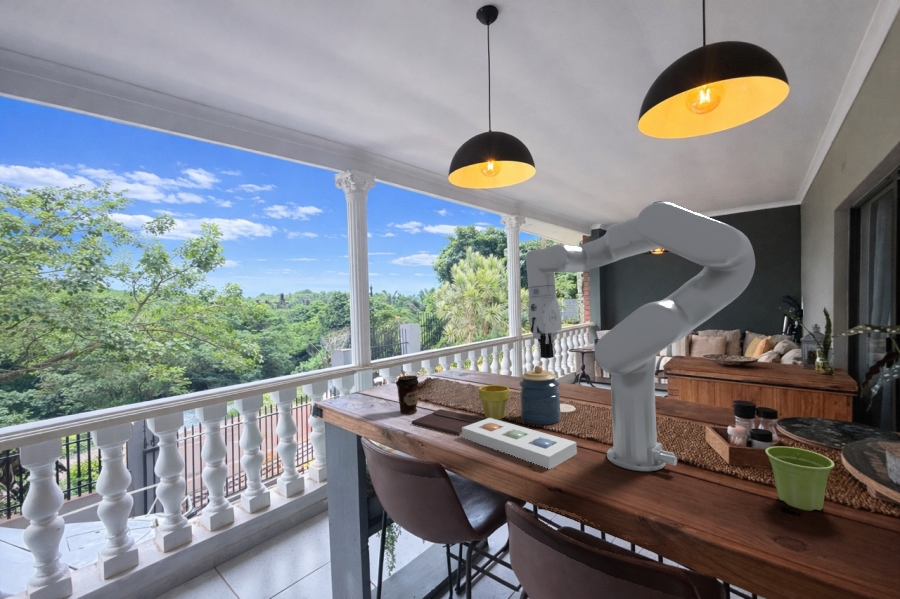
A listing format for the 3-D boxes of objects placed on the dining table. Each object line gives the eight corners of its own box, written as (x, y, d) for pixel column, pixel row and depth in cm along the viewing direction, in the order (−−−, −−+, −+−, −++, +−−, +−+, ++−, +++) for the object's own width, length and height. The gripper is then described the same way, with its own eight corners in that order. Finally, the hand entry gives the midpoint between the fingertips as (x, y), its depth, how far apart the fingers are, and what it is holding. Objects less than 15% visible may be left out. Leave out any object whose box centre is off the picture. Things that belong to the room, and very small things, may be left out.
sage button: (527, 444, 102) (527, 433, 102) (516, 449, 99) (516, 437, 99) (514, 439, 106) (513, 429, 106) (503, 444, 103) (502, 433, 103)
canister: (513, 416, 127) (510, 365, 127) (543, 410, 132) (541, 360, 132) (537, 428, 115) (534, 370, 115) (569, 420, 121) (567, 366, 121)
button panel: (576, 453, 95) (576, 442, 95) (549, 469, 87) (549, 456, 87) (490, 427, 118) (489, 417, 118) (462, 437, 110) (461, 427, 110)
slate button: (556, 453, 96) (556, 441, 96) (545, 459, 93) (545, 447, 93) (540, 448, 99) (540, 436, 99) (529, 453, 96) (529, 442, 96)
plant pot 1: (500, 410, 135) (499, 383, 135) (516, 418, 126) (514, 389, 126) (474, 414, 131) (473, 387, 131) (489, 423, 122) (487, 393, 122)
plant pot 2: (833, 500, 70) (831, 453, 70) (839, 524, 63) (836, 472, 63) (768, 485, 76) (766, 442, 76) (766, 505, 69) (764, 458, 69)
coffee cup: (425, 410, 139) (423, 375, 139) (411, 417, 132) (409, 380, 132) (406, 408, 143) (405, 374, 143) (392, 414, 136) (390, 378, 136)
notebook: (458, 437, 112) (458, 431, 112) (411, 425, 124) (411, 419, 124) (486, 423, 123) (486, 417, 123) (441, 414, 136) (440, 408, 136)
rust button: (502, 435, 109) (502, 425, 109) (491, 440, 106) (491, 430, 106) (490, 432, 113) (490, 422, 113) (479, 436, 110) (479, 426, 110)
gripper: (538, 292, 99) (544, 362, 98) (567, 291, 109) (572, 354, 109) (515, 294, 104) (520, 360, 104) (544, 293, 115) (549, 353, 114)
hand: (547, 357), depth 106 cm, fingers closed
